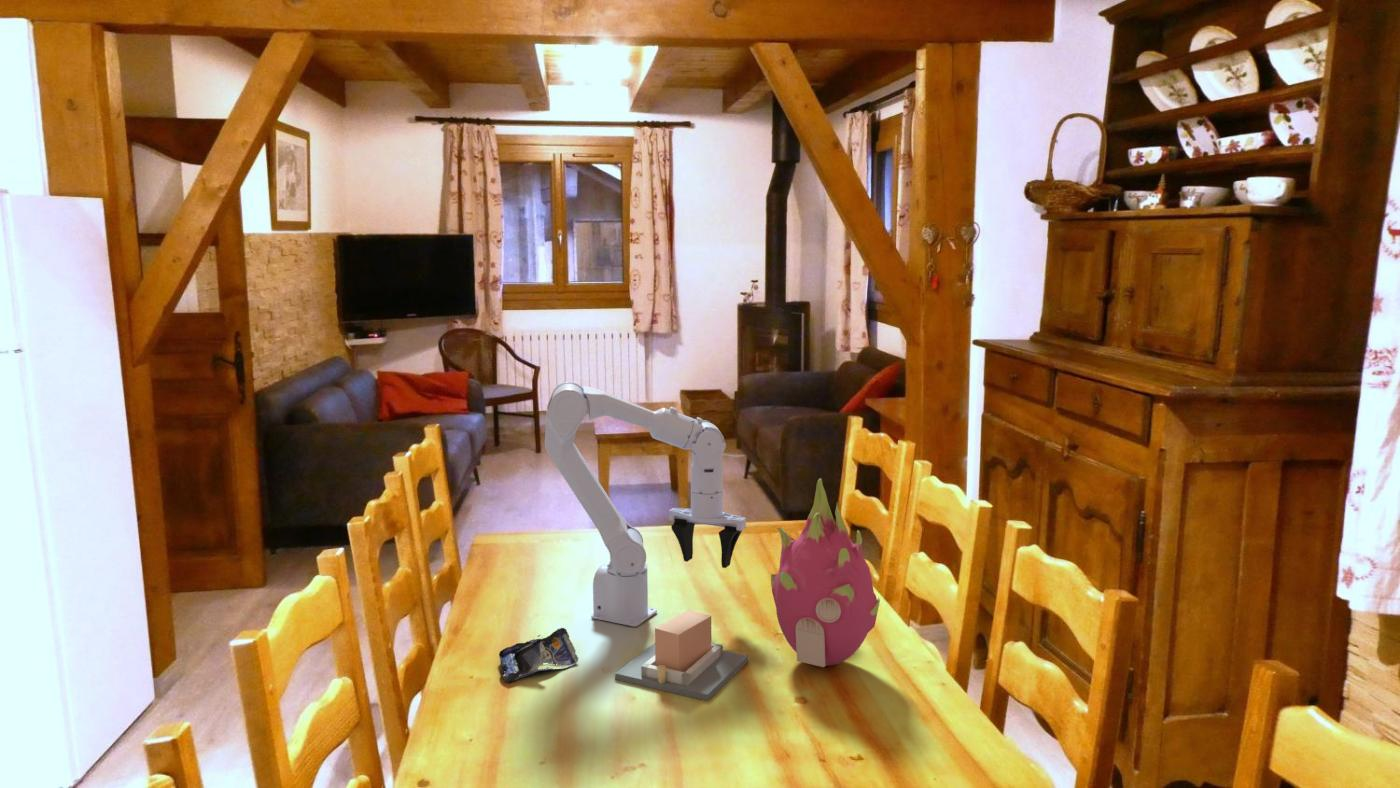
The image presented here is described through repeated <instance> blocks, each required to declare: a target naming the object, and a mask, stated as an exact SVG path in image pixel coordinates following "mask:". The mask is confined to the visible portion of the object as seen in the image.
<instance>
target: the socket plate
mask: <svg viewBox="0 0 1400 788" xmlns="http://www.w3.org/2000/svg"><path fill="white" fill-rule="evenodd" d="M723 648H724V646H723V644H719V643H715V642H711V650H710V651H708V652H707V653H706V654H705V655H704V656H703V657H702V658H700V659H699V660H698V661H697V662H696V663H695V664H694V665H692V666H691V667H690V668H689V669H688V670H687V671H686V672H681V671H676V670H672V669H667V668H666V666H665V665H659V666H655V642H653V643H652V644H651V645H650V646H648V647H647V648H646V649H644V650H643V651H641V653H640V654H638V655H636V657H634V658H633V659H631V661H629V662H628V663H626V664H624V666H622V667H621V668H620V669H619V670H617V671H616V672H615V673H614V680H617V681H621V682H625V683H630V684H632V685H633V684H634V685H637V686H642V687H646V688H649V689H650V688H651V689H655V690H658V691H659V690H660V691H664V692H667V693H672V694H676V695H680V696H685V697H690V698H694V699H697V700H702V701H706V702H708V701H709V700H710V699H711V698H712V697H714V696H715V695H716V693H717V692H719V691H720V690H721V689H722V688H723V686H724V685H726V684H727V683H728V682H729V681H730V680H731V679H732V678H733V677H734V676H735V675H736V674H737V673H738V672H739V671H740V670H741V669H742V668H743V667H744V666H745V665H746V664H747V663H748V662H749V655H748V654H742V653H737V652H732V651H730V650H724V649H723Z"/></svg>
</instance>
